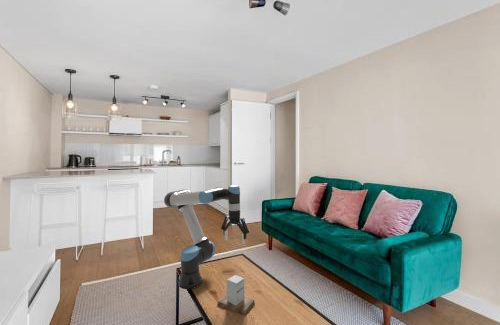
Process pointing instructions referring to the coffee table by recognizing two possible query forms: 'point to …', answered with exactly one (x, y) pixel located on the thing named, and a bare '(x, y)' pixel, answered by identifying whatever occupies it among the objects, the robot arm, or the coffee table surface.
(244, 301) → the walnut board
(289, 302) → the coffee table surface
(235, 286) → the supplement box
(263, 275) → the coffee table surface
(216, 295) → the coffee table surface
